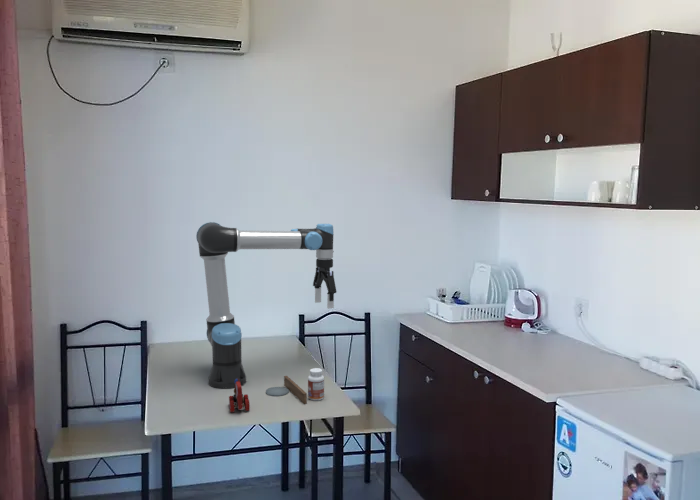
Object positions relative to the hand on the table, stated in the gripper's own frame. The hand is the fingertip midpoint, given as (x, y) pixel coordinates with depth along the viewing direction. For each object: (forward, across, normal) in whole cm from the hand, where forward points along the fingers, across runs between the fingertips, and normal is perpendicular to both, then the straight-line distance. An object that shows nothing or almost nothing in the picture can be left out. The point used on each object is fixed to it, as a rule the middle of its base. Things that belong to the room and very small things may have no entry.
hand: (324, 305), depth 276 cm
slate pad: (+27, -27, +32) cm, 50 cm away
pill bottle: (+27, -39, +21) cm, 52 cm away
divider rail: (+27, -32, +27) cm, 50 cm away
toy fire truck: (+27, -37, +50) cm, 68 cm away
